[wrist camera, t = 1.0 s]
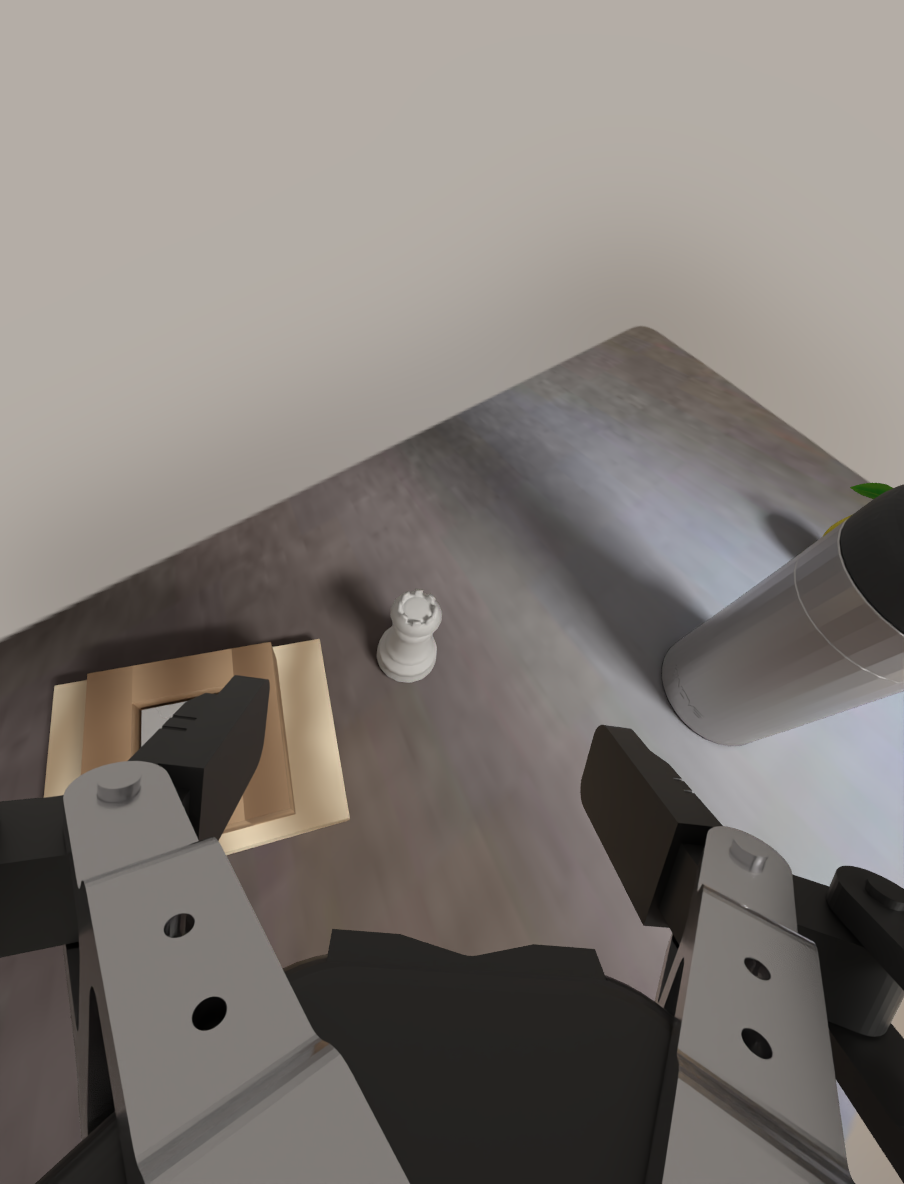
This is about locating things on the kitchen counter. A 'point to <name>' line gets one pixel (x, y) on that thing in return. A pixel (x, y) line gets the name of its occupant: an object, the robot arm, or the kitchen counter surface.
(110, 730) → the press socket
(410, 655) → the rook chess piece
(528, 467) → the kitchen counter surface
